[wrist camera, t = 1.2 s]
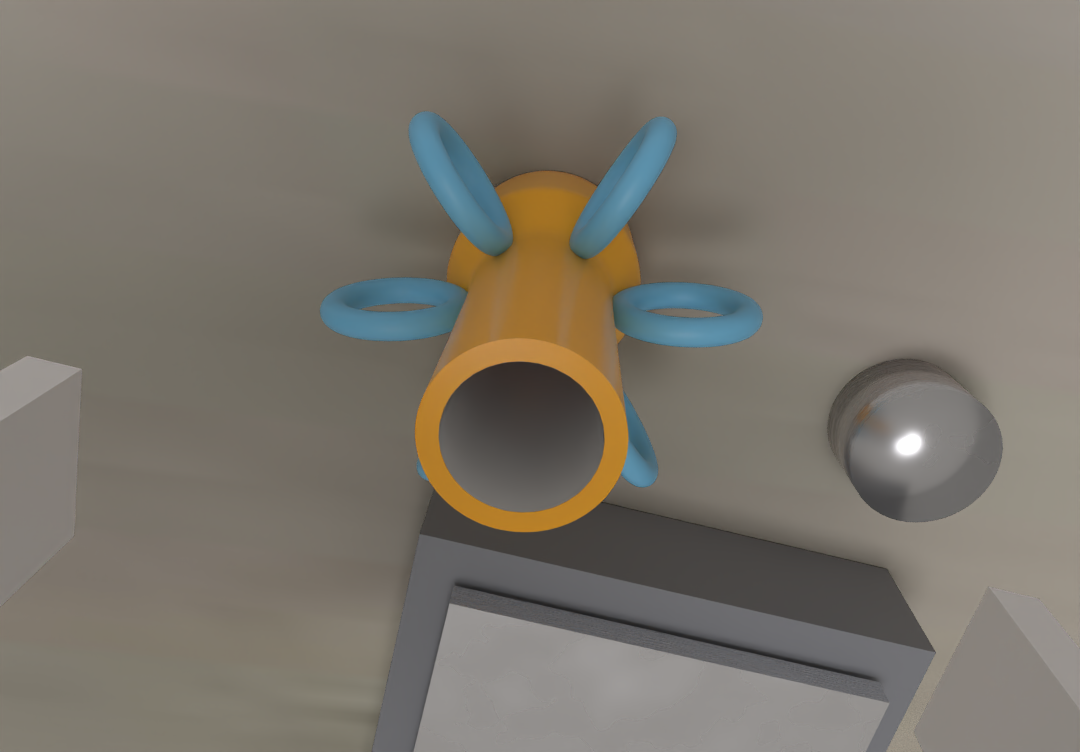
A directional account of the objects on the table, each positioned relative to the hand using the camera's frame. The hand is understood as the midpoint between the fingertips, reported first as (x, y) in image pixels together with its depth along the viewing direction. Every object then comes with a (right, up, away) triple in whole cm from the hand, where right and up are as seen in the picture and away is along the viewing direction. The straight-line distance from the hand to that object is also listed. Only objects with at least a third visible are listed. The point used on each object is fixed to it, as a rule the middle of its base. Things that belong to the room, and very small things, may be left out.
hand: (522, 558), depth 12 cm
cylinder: (+1, +7, +18) cm, 19 cm away
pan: (+3, -11, +23) cm, 26 cm away
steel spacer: (+13, +1, +20) cm, 24 cm away
